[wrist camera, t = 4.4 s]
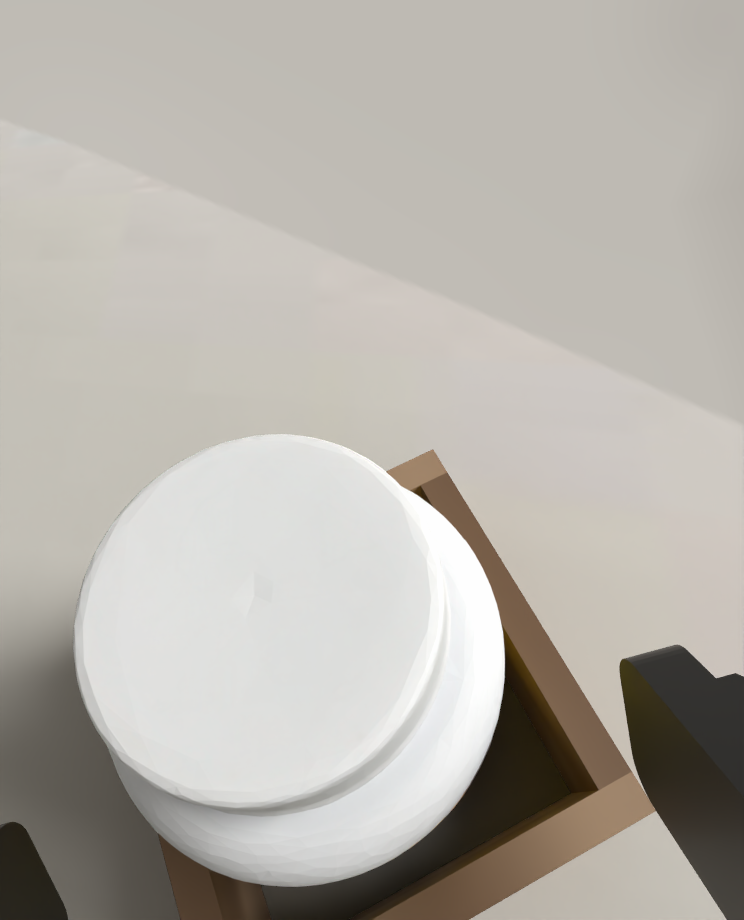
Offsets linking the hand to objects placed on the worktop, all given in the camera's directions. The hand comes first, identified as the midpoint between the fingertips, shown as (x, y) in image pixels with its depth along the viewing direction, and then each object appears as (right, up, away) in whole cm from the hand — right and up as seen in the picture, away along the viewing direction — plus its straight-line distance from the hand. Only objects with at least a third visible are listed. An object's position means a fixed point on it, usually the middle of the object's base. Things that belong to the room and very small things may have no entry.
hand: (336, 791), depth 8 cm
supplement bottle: (0, -2, +7) cm, 8 cm away
